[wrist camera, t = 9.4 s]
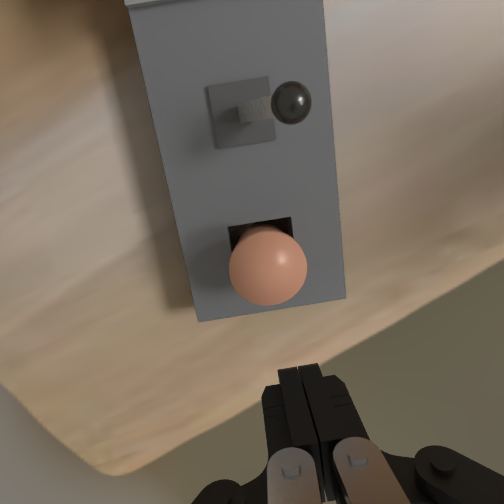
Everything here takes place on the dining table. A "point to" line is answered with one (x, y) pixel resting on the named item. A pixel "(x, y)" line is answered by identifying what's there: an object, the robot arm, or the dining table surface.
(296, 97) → the toggle
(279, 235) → the button
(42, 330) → the dining table surface
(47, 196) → the dining table surface
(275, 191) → the panel
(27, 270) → the dining table surface
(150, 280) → the dining table surface
